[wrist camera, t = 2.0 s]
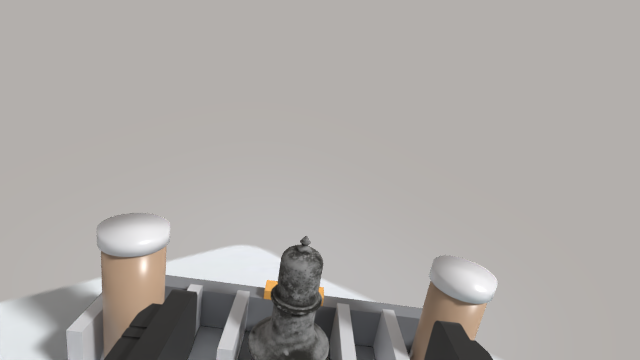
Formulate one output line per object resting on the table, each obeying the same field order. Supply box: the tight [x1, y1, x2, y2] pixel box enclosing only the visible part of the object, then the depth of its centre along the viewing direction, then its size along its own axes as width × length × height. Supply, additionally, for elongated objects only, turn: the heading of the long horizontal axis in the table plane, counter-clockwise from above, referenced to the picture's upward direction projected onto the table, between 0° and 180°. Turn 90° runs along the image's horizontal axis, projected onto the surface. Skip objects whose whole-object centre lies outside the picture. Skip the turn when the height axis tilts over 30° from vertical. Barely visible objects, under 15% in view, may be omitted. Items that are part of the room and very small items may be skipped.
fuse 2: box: [409, 256, 497, 360], centre depth 26 cm, size 4×4×11 cm
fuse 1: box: [97, 213, 170, 360], centre depth 25 cm, size 4×4×11 cm
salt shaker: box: [248, 236, 329, 360], centre depth 25 cm, size 6×6×12 cm
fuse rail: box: [66, 275, 423, 360], centre depth 26 cm, size 29×12×4 cm, turn 91°
